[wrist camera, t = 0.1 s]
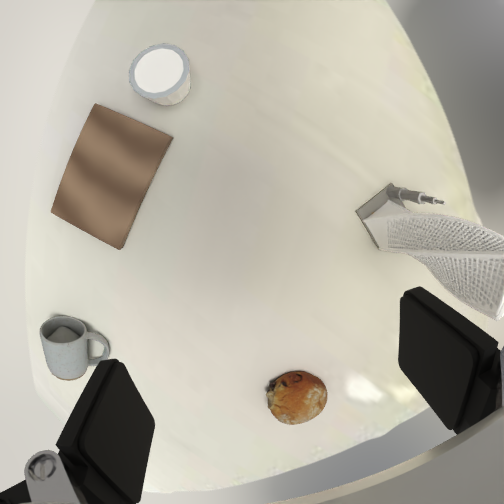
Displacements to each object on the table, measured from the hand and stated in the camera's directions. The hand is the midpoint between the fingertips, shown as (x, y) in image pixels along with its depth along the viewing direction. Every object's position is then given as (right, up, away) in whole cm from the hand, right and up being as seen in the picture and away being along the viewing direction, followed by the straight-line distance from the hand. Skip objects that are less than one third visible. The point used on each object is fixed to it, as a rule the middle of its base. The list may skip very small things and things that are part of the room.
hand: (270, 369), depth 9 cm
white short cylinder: (-11, +25, +25) cm, 37 cm away
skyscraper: (+19, +8, +32) cm, 38 cm away
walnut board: (-20, +14, +27) cm, 36 cm away
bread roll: (+7, -20, +39) cm, 44 cm away
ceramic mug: (-28, -10, +33) cm, 45 cm away
